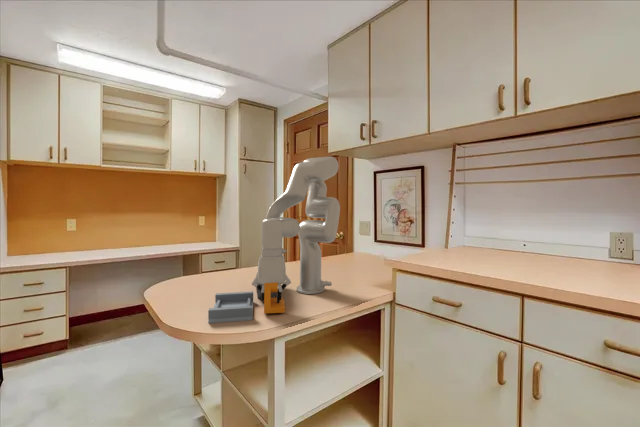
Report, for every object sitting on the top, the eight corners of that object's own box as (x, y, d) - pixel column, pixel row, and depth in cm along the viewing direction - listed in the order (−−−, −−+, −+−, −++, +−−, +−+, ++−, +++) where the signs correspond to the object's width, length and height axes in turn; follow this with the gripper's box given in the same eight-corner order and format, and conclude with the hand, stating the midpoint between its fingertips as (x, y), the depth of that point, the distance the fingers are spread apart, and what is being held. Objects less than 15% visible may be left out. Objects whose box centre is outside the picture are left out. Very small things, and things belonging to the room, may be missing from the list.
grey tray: (253, 301, 116) (253, 291, 116) (252, 319, 98) (252, 307, 98) (216, 304, 113) (216, 293, 113) (208, 323, 95) (208, 310, 95)
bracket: (284, 314, 103) (285, 281, 102) (264, 315, 101) (264, 281, 101) (283, 304, 113) (283, 273, 113) (264, 305, 112) (264, 274, 112)
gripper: (293, 250, 112) (293, 298, 112) (248, 251, 108) (248, 300, 109) (296, 253, 104) (295, 304, 105) (247, 254, 101) (247, 307, 101)
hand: (271, 301), depth 107 cm, fingers closed on bracket, 4 cm apart
